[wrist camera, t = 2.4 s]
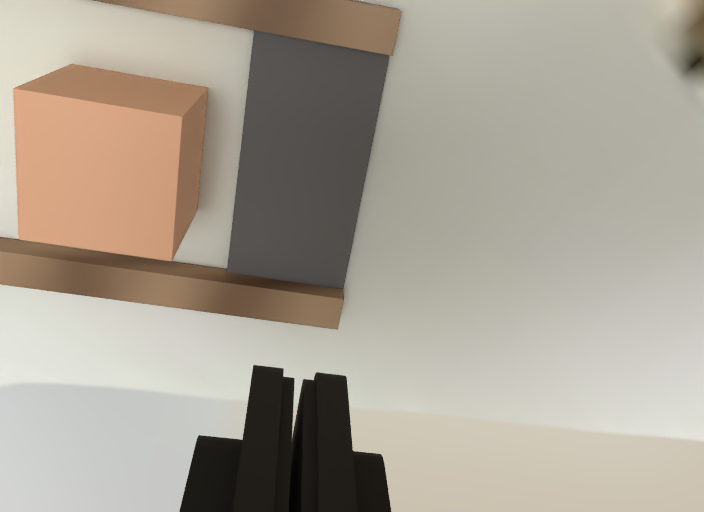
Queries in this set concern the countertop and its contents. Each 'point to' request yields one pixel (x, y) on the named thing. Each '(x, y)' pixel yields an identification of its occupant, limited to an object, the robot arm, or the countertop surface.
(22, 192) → the block
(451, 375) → the countertop surface
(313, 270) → the channel
